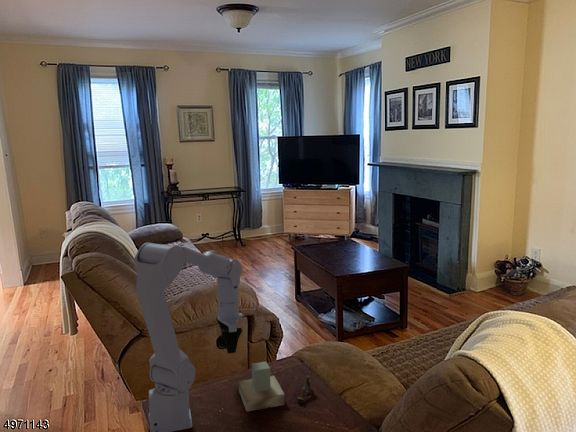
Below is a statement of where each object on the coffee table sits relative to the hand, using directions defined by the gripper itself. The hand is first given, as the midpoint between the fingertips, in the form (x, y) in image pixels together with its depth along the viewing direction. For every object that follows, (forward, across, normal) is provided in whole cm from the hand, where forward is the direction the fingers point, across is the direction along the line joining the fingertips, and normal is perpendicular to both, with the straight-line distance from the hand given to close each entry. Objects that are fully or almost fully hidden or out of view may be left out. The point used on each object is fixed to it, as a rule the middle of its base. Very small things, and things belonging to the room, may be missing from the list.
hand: (229, 346), depth 121 cm
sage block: (+7, -11, -6) cm, 15 cm away
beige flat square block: (+10, -11, -6) cm, 16 cm away
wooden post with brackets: (+11, -14, -18) cm, 25 cm away
